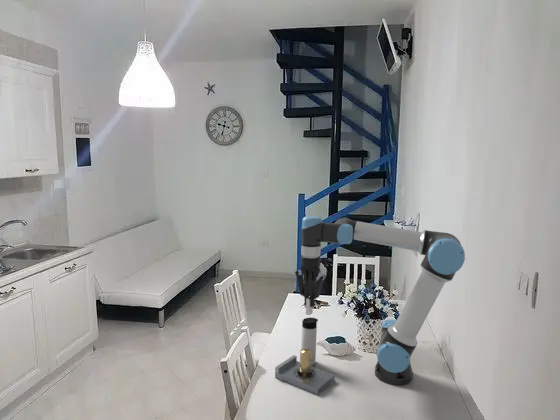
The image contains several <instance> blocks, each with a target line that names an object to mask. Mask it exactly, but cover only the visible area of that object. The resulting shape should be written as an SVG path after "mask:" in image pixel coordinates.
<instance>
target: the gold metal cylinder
mask: <svg viewBox="0 0 560 420" xmlns="http://www.w3.org/2000/svg"><path fill="white" fill-rule="evenodd" d="M299 352H300V353H299V362H300V375H299V376H301V377H310V376H311V350H310V349H306V348H305V349H301V348H300V351H299Z"/></svg>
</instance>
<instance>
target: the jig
mask: <svg viewBox="0 0 560 420" xmlns="http://www.w3.org/2000/svg"><path fill="white" fill-rule="evenodd" d="M297 358H298V357H297V355H293V354H292V356H290V357H289V358H286V360H284V361H282V362H281V363H280V364H278V365H277V366H275V368H274V370H275V372H274V378H275V379H277V380H280V381H282V382H285V383H287V384H289V385H292V386H294V387H297V388H299V389H301V390H304V391H307V392H309V393H311V394H314V395H316V396H318V395H320V394H321V393H323V391H325V390H326V389H327V388H328V387H329V386H330V385H332V384H333V383H334V382H335V379H336V378H335V377H336V375H335V374H333V373H330V372H327V371H325V370H322V369H319V368H317V367H316V366H315V367H314V366H311V376H310V377H301V376H299V375H300V361H298V360H297Z"/></svg>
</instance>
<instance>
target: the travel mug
mask: <svg viewBox="0 0 560 420" xmlns="http://www.w3.org/2000/svg"><path fill="white" fill-rule="evenodd" d="M301 321H302V325H301V347H300V350H301V349H305V348H306V349H310V350H311V366H312V367H314V366H315V365H316V359H317V358H316V355H317V354H316V353H317V333H318V331H317V328H318V326H317V324H318V322H319V319H318V318H316V317H305V318H304V319H302V320H301Z"/></svg>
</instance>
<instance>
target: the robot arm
mask: <svg viewBox="0 0 560 420" xmlns="http://www.w3.org/2000/svg"><path fill="white" fill-rule="evenodd" d="M301 221H302V222H301V247H300V248H301V250H300V251H301V253H300V255H301V257H300V265H301V266H300V269H298V270H295V271H294V274H295V275H296V278H297V284H298V290H299V295H300V296H302V297H304V298H303V299H304V306H305V315H307V316H310V315H312V314H313V311H314V310H313V309H314V308H313V307H315V300H316V299H318V298H320V295H321V291H322V287H323V283H324V280H325V279H326V277H327V276H326V274H323V273H322V272H321V250H322V249H321V246H322V245H321V243H331V244H340V245H350V244H351V243H352V241H353V240H356V241H361V242H365V243H371V244H377V245H382V246H389V247H393V248H398V249H403V250H409V251H414V252H418V253H419V255H421V256H424V257H423V259H422V260H421V263H420V268H421V273H420V275H419V277H418V279H417V280H416V282H415V284H414V286H413V289H412V290H411V292H410V294H409V295H408V298H407V300H406V301H405V304H404V306H403V307H402V309H401V311H400V313H399V315H398V317H397V319H385V320H383V321H382V323H381V327H380V328H381V335H380V340H379V343H378V347H377V349H376V350H377V351H376V358H377V362H376V365H375V367H374V375H375V376H376V378H377V379H378V380H380V381H381V382H384V383H386V384H389V385H394V386H395V385H396V386H403V385H409V384H410V383H412V381H413V378H414V372H413V368H412V364H411V356H412V355H413V353H414V351H415V349H416V348H417V345H418V340H417V336H418V334H419V333H420V331H421V329H422V327H423V324H424V323H425V321H426V319H427V317H428V315H429V313H430V312H431V310H432V309H433V307H434V304H435V302H436V301H437V299H438V297H439V295H440V293H441V291H442V289H443V287H444V285H445V284H446V283H447V282H448V283H449V282H451V281H452V280H453V279H454V277H455V275H456V273H457V272H458V271H460V270H461V268H462V267H463V266H464V263H465V259H466V253H465V252H466V251H465V250H464V247H463V246H462V244H461V241H460V240H459V238H457V236H455V235H454V234H452V233H448V232H443V231H435V230H434V231H432V230H426V229H424V230H422V231H416V230H411V229H410V230H409V229H406V228H400V227H393V226H388V225H381V224H377V223H370V222H369V223H368V222H364V221H360V220H359V221H358V220H353V219H350V218H348V217H342V218H338V219H337V220H336V221H335V222H324V221H323V220H322V217H321V216H316V215H315V216H314V215H310V216H309V215H308V216H307V215H306V216H304V217H303V218H302V220H301Z"/></svg>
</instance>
